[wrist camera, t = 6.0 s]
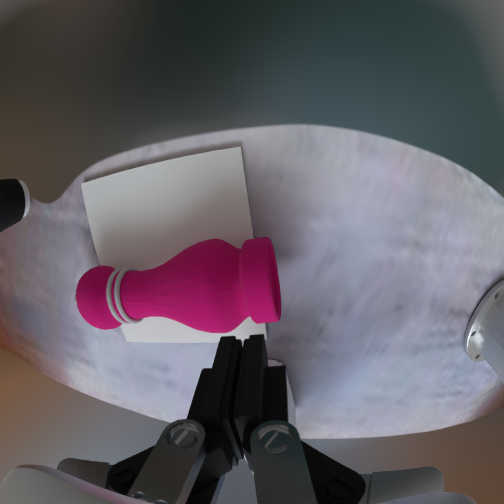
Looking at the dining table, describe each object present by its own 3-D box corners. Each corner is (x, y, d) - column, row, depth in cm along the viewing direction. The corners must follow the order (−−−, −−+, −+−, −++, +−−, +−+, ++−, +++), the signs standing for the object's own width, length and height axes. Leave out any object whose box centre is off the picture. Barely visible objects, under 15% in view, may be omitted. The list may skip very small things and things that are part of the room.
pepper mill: (261, 213, 18) (54, 256, 21) (273, 328, 16) (51, 332, 19) (275, 245, 25) (99, 272, 28) (285, 327, 22) (100, 336, 26)
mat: (241, 146, 21) (240, 146, 21) (267, 336, 27) (267, 339, 26) (84, 183, 23) (81, 183, 23) (128, 339, 29) (127, 341, 28)
